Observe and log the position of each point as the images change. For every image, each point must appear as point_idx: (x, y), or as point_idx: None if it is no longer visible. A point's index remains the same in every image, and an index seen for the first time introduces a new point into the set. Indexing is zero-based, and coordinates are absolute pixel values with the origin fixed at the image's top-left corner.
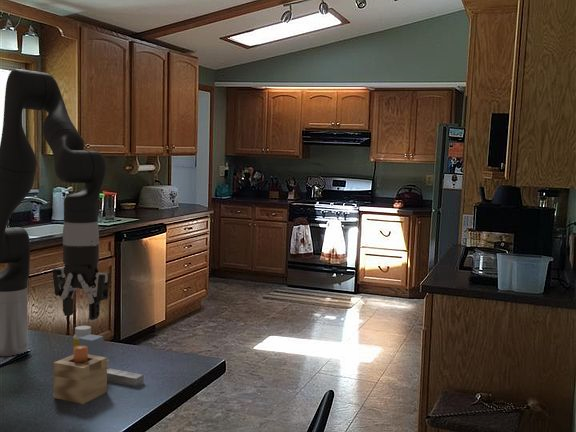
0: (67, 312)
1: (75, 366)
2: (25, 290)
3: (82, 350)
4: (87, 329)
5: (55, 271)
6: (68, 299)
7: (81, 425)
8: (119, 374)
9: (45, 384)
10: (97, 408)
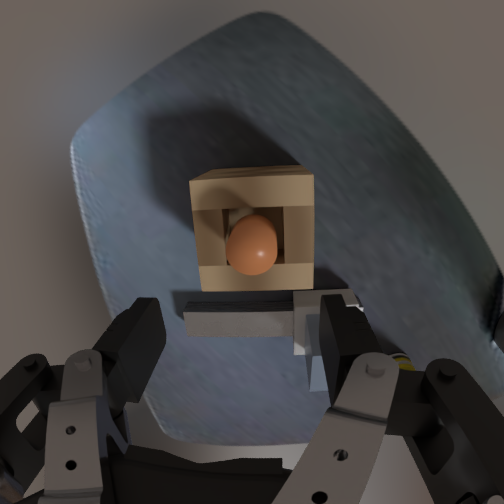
0: (324, 309)
1: (221, 179)
2: None
3: (229, 237)
4: None
5: None
6: (340, 375)
7: (137, 89)
8: (233, 317)
9: (378, 223)
10: (168, 168)
